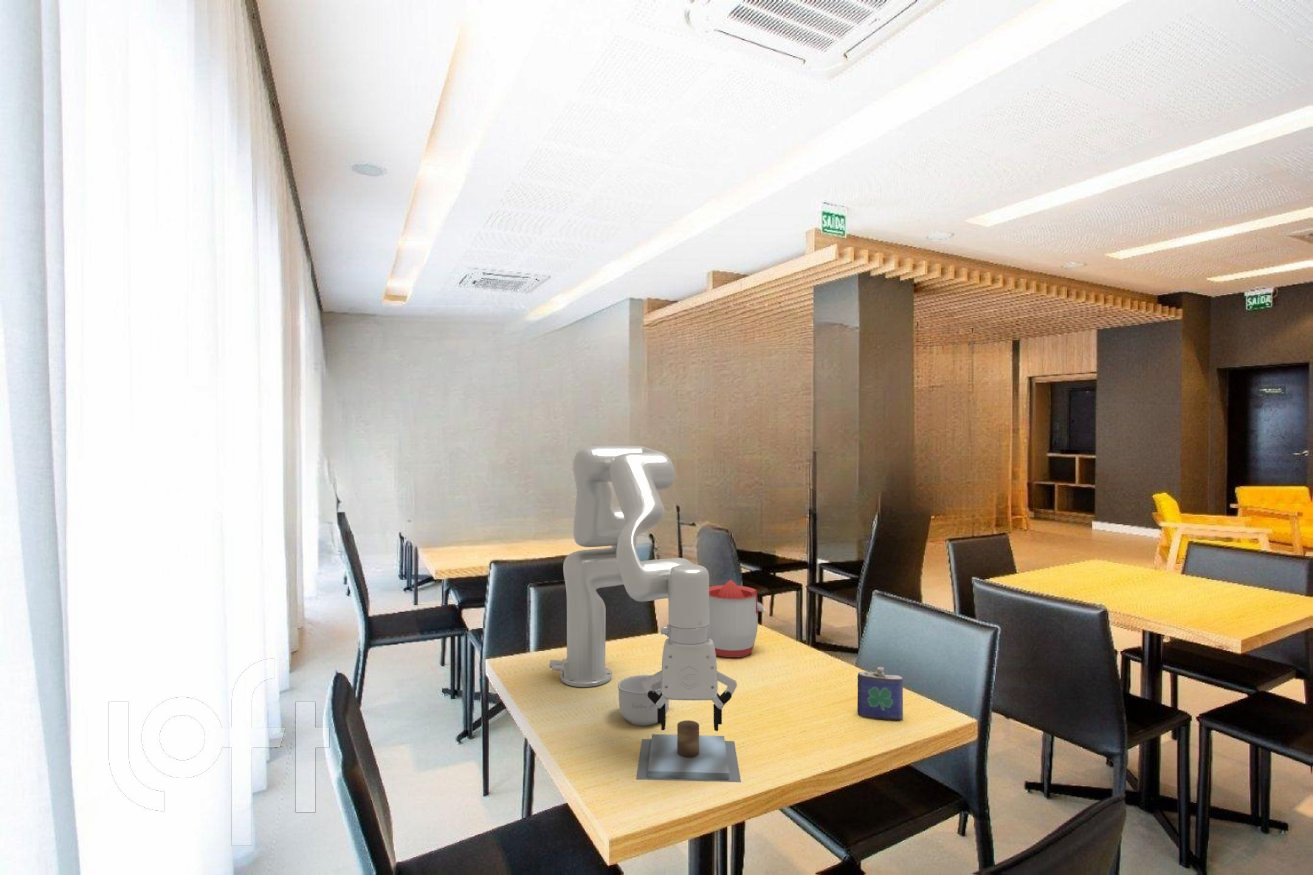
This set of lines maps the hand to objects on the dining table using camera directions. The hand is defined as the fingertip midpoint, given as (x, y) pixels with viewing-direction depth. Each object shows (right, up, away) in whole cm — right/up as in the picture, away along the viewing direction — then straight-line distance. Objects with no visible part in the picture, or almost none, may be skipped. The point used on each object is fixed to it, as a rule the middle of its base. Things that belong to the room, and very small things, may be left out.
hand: (689, 727), depth 118 cm
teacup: (-7, -7, +19) cm, 21 cm away
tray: (0, -6, 0) cm, 6 cm away
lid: (0, -6, 0) cm, 6 cm away
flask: (+42, -7, +20) cm, 47 cm away
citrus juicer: (+15, -7, +62) cm, 64 cm away
